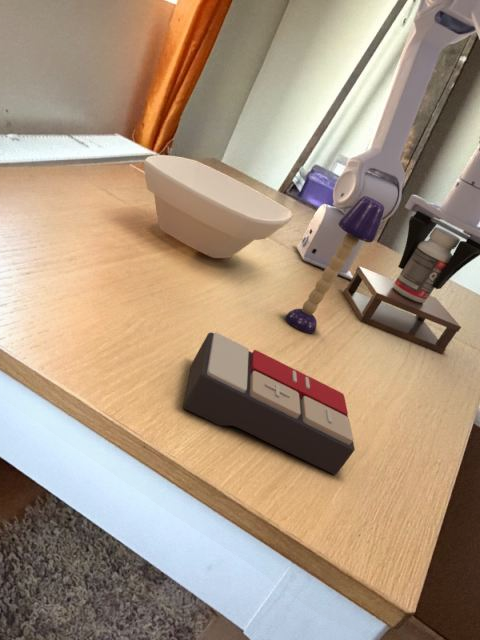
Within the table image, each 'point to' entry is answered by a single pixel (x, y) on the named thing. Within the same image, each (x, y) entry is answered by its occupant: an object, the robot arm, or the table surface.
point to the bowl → (209, 206)
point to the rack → (399, 311)
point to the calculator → (269, 402)
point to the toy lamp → (340, 257)
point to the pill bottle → (426, 265)
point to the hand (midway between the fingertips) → (419, 277)
